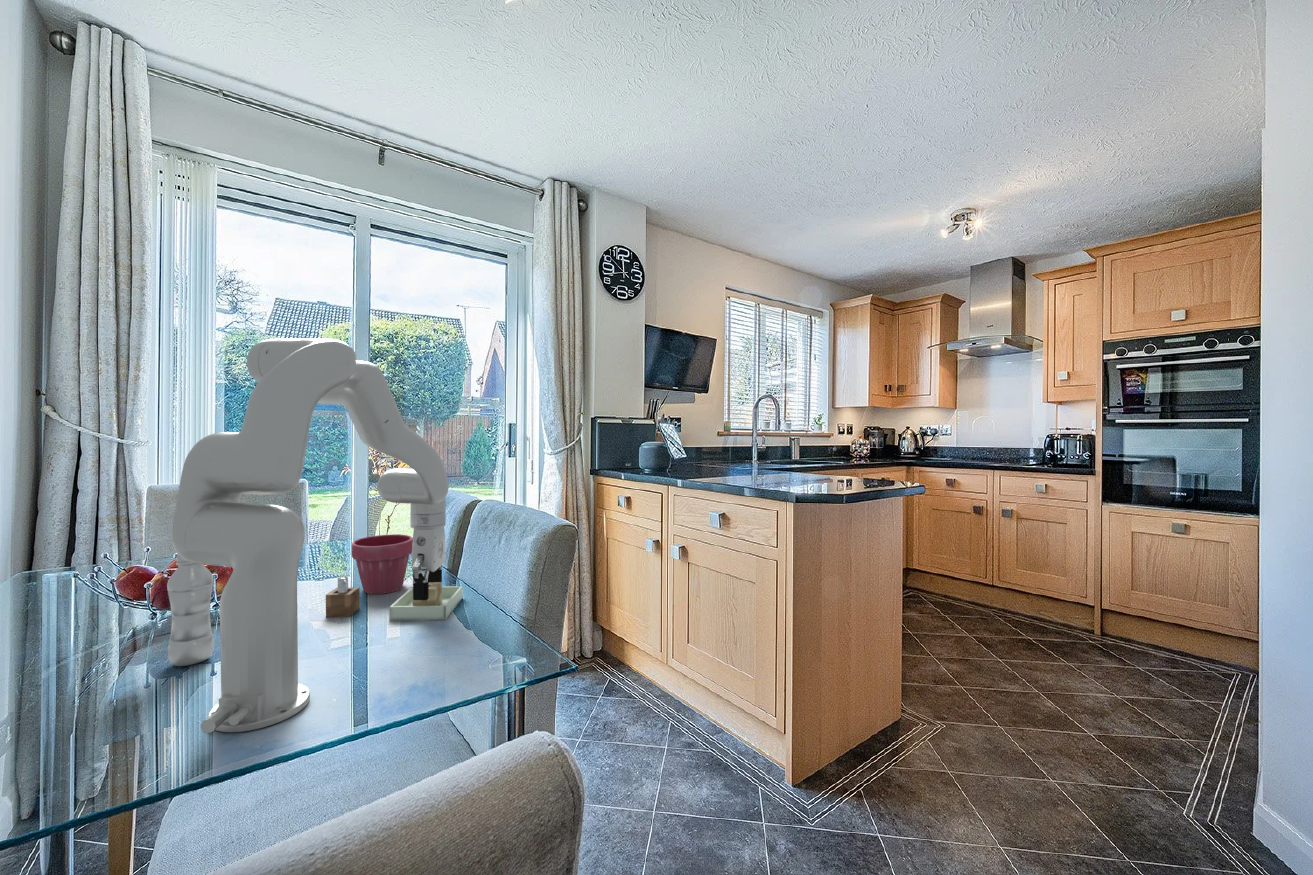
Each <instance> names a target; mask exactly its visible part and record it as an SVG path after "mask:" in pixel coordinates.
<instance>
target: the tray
mask: <svg viewBox="0 0 1313 875" xmlns="http://www.w3.org/2000/svg"><path fill="white" fill-rule="evenodd" d="M463 591H464V590H463V586H452V585H451V586H449V585H448V586H442V604H441V605H440V606H413V586H411V587H410V588H409V589H407V591H405V592H404V594H402V595H401V596H400V597H399V598H398V599H396V600H395V601H394V602H393V603H392V604H391V605H390V606H388V607H389V608H388V611H389V613H388V614H389V619H388V620H389V621H446V620H447V619H446V618H448V617H449V616H450V615H451V614H452V613H453V611H454V610H455V609H456V607H457V606H458V605H459V604H460V603H461V601H462V600H461V598H462V597H463V594H464V593H463ZM462 599H463V598H462ZM460 600H461V601H460ZM458 603H459V604H458ZM457 604H458V605H457ZM456 605H457V606H456ZM454 608H455V609H454ZM450 613H451V614H450ZM445 619H446V620H445Z"/></svg>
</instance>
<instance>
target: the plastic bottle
mask: <svg viewBox="0 0 1313 875" xmlns="http://www.w3.org/2000/svg"><path fill="white" fill-rule="evenodd" d="M175 564H176V566H178V567H177V568H176V569H175V570H174V572H173V573H172V575H170V577H169V579H168V581H167V583H166V590H167V596H168V600H169V604H170V614H171V626H170V627H171V628H170V640H169V642H168V646H167V647H168V648H167V653H166V654H167V659H168V661H169V662H170V664H171V665H173V666H175V667H186V666H191V665H196V664H199V663H201V662H204V661H206V660H207V659H209V658H210V657H211V655H212V654H213V653H214V649H215V640H214V634H213V631H212V624H211V616H210V615H211V614H210V613H211V609H210V608H211V598H212V592H213V586H214V576H213V574H212V572H211V571H210V570H209V569H208V568H207V567H206V566H205V564H197V563H192V562H189V561H187V560H184V559H183V558H181V557H180V556H179V555H178V554H177V553H176V562H175Z"/></svg>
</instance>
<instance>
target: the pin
mask: <svg viewBox="0 0 1313 875" xmlns="http://www.w3.org/2000/svg"><path fill="white" fill-rule="evenodd" d="M337 588H338V593H348V588H349V577H348V576H340V577H338V578H337Z"/></svg>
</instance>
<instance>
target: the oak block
mask: <svg viewBox="0 0 1313 875" xmlns="http://www.w3.org/2000/svg"><path fill="white" fill-rule="evenodd" d="M442 587H443V581H442V582H429V598H428V600H413V606H440V605H441V604H442Z"/></svg>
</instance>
